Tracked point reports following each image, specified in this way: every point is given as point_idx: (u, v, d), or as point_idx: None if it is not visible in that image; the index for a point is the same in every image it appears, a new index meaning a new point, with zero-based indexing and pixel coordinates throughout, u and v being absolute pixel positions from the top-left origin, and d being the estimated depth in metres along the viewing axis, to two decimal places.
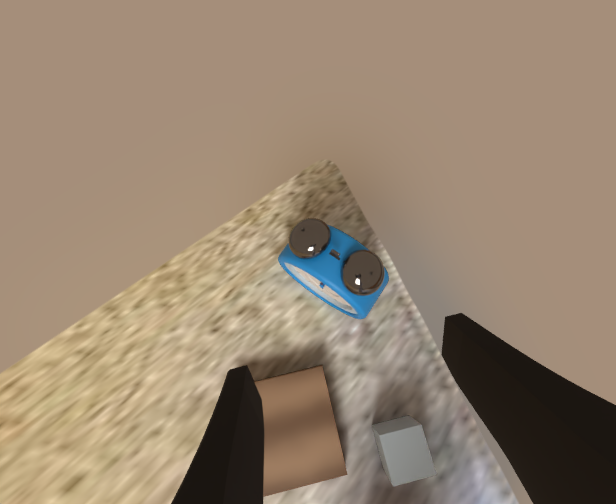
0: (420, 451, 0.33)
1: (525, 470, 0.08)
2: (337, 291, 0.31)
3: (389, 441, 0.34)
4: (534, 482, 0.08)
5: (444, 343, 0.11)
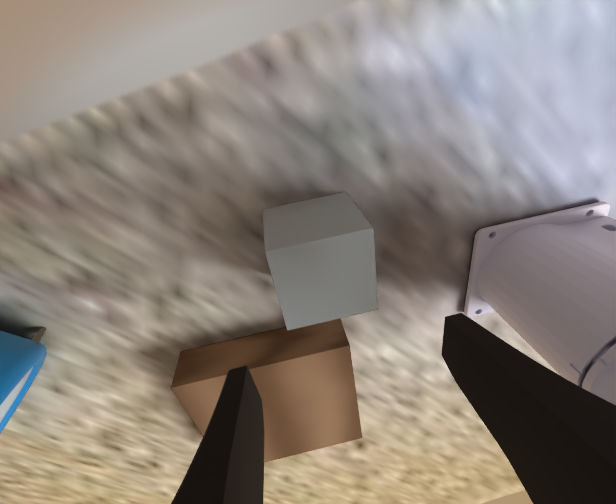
0: (322, 259, 0.14)
1: (525, 470, 0.08)
2: None
3: (299, 314, 0.15)
4: (534, 482, 0.08)
5: (444, 343, 0.11)
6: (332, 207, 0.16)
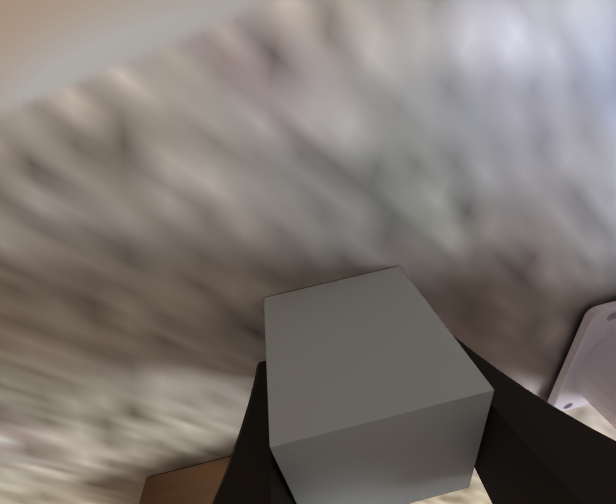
0: (385, 442, 0.07)
1: (489, 480, 0.08)
2: None
3: None
4: (497, 492, 0.08)
5: None
6: (387, 308, 0.09)
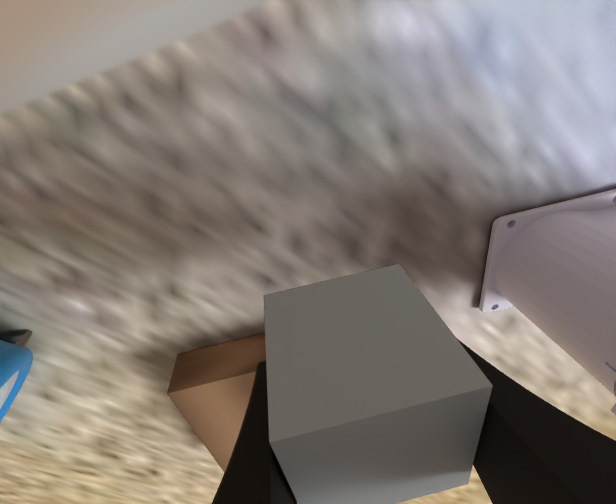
0: (384, 438, 0.07)
1: (489, 480, 0.08)
2: None
3: None
4: (497, 492, 0.08)
5: None
6: (386, 305, 0.09)
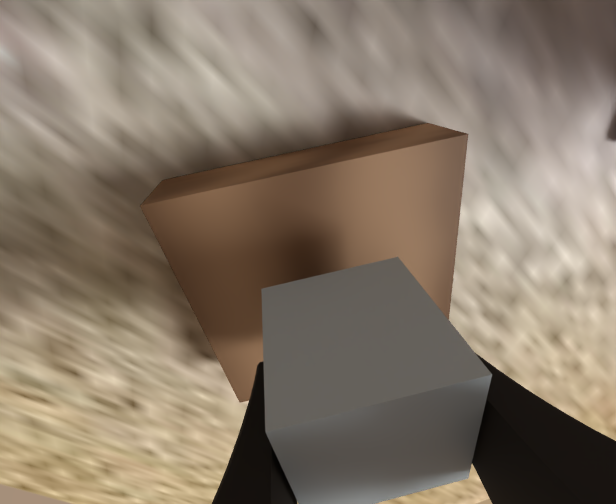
0: (382, 429, 0.07)
1: (489, 480, 0.08)
2: None
3: (329, 500, 0.08)
4: (497, 492, 0.08)
5: None
6: (384, 297, 0.09)
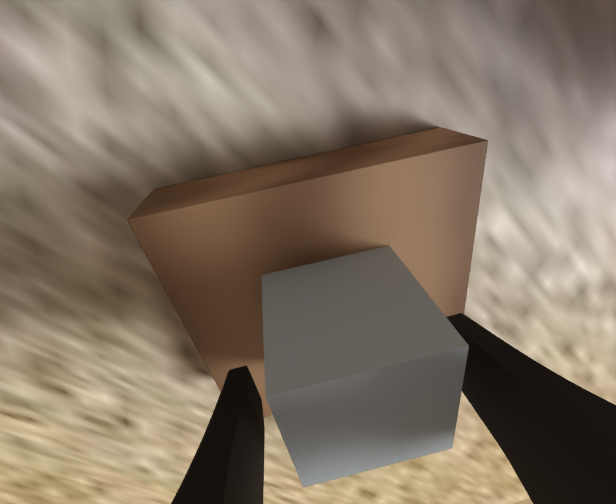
0: (370, 396, 0.08)
1: (525, 470, 0.08)
2: None
3: (324, 466, 0.09)
4: (534, 482, 0.08)
5: None
6: (375, 281, 0.10)
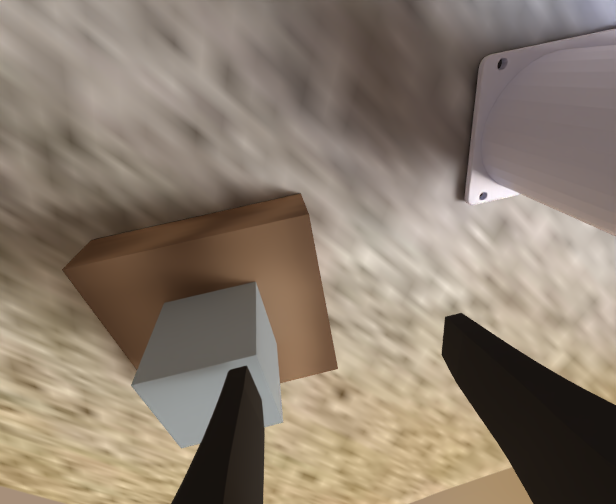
0: (203, 385, 0.12)
1: (525, 470, 0.08)
2: None
3: (190, 433, 0.14)
4: (534, 482, 0.08)
5: (444, 343, 0.11)
6: (231, 309, 0.15)
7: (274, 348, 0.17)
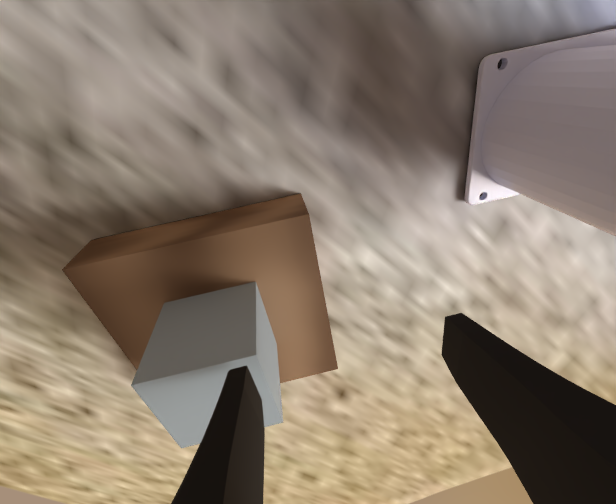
0: (203, 385, 0.12)
1: (525, 470, 0.08)
2: None
3: (190, 433, 0.14)
4: (534, 482, 0.08)
5: (444, 343, 0.11)
6: (231, 309, 0.15)
7: (274, 348, 0.17)
